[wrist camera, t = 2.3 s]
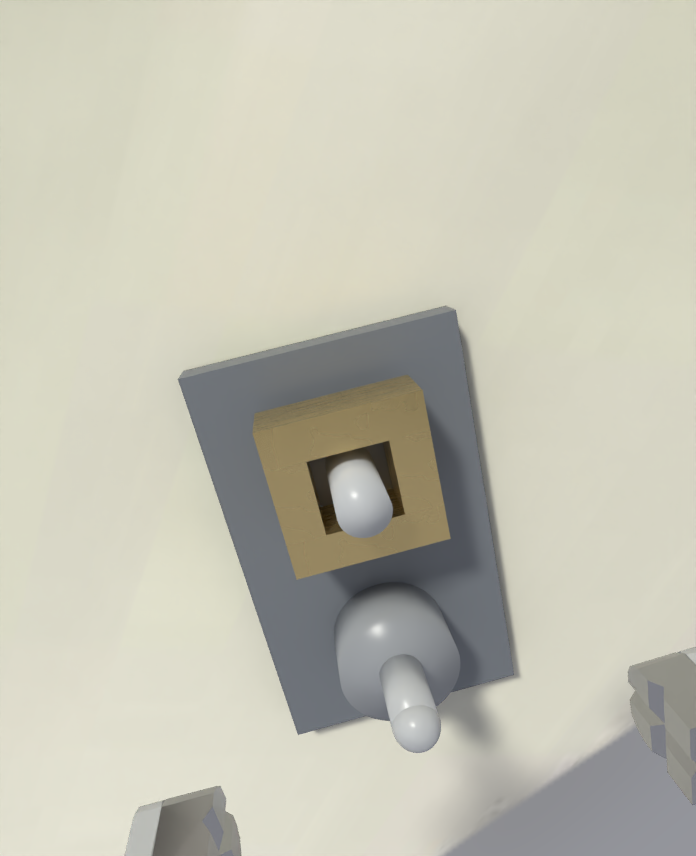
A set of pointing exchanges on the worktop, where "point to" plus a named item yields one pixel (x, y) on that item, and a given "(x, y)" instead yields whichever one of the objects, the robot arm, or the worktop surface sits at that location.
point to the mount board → (330, 589)
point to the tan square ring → (340, 432)
